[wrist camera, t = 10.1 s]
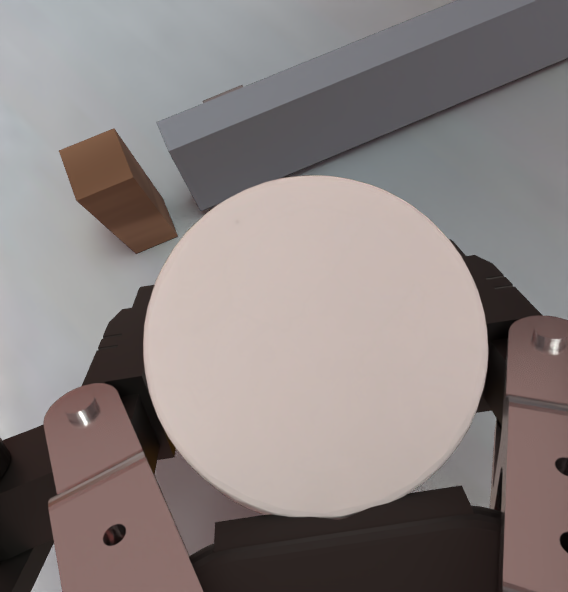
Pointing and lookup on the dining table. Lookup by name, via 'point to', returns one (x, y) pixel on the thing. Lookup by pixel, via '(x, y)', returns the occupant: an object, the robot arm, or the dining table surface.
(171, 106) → the dining table surface
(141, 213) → the wooden blocks
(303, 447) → the pill bottle
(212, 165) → the gate
